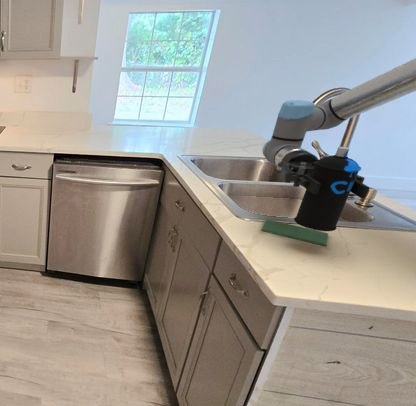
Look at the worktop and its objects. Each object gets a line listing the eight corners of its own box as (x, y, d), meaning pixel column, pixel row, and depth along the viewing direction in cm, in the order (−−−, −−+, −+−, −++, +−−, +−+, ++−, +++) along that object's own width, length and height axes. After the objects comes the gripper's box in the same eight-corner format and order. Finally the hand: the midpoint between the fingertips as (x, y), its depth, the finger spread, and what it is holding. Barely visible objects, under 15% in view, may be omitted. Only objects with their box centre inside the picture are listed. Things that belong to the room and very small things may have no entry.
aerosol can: (286, 220, 95) (312, 145, 87) (306, 214, 98) (333, 141, 90) (323, 234, 88) (355, 154, 80) (343, 227, 91) (377, 149, 83)
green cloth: (327, 235, 101) (328, 233, 101) (325, 246, 96) (326, 244, 96) (265, 220, 110) (266, 218, 110) (261, 230, 105) (261, 228, 105)
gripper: (337, 177, 102) (392, 210, 83) (249, 172, 109) (281, 201, 89) (347, 151, 99) (406, 179, 80) (257, 147, 106) (291, 172, 86)
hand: (340, 190), depth 84 cm, fingers closed on aerosol can, 8 cm apart
